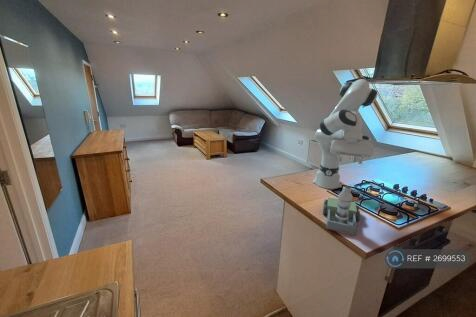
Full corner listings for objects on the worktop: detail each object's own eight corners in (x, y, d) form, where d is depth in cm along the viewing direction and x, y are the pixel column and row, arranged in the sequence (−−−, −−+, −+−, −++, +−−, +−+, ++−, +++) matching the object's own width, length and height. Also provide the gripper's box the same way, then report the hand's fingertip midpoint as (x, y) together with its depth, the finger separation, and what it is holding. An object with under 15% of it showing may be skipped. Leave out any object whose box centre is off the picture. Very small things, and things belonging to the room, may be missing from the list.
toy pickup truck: (323, 205, 129) (325, 196, 127) (356, 211, 123) (358, 202, 121) (321, 227, 109) (323, 217, 107) (360, 236, 103) (363, 225, 101)
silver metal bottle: (332, 224, 111) (338, 187, 104) (335, 217, 116) (341, 182, 109) (346, 228, 107) (353, 191, 101) (348, 221, 113) (355, 186, 106)
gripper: (331, 134, 120) (328, 156, 115) (374, 138, 113) (374, 162, 108) (330, 140, 125) (327, 162, 120) (371, 144, 118) (370, 167, 113)
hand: (350, 162), depth 114 cm, fingers open, 8 cm apart
